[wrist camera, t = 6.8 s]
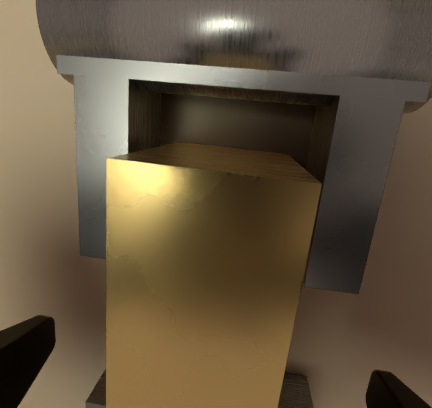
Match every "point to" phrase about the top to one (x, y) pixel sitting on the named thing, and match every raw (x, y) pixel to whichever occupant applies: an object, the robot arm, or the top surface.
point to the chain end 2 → (288, 402)
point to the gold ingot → (203, 274)
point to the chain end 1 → (250, 93)
